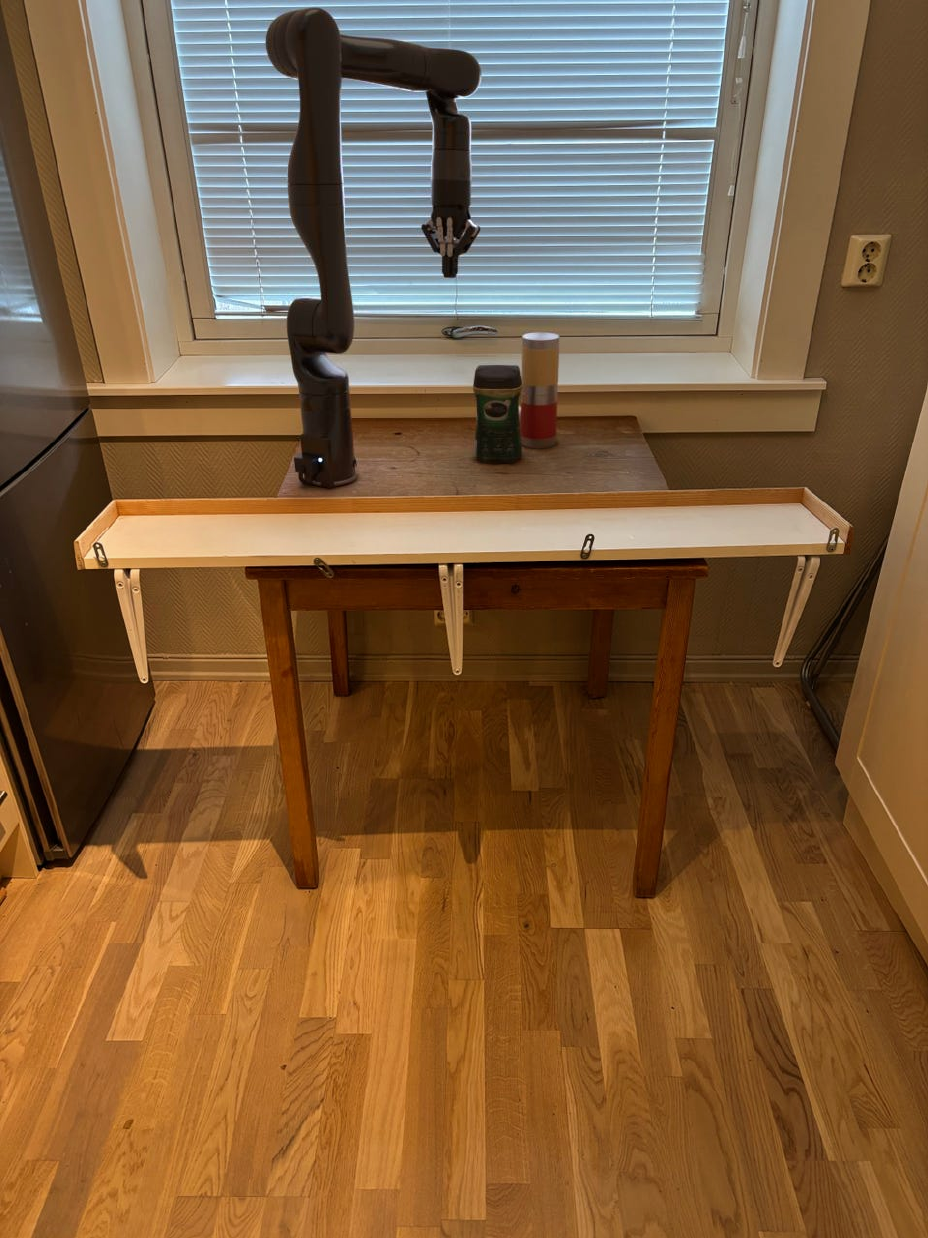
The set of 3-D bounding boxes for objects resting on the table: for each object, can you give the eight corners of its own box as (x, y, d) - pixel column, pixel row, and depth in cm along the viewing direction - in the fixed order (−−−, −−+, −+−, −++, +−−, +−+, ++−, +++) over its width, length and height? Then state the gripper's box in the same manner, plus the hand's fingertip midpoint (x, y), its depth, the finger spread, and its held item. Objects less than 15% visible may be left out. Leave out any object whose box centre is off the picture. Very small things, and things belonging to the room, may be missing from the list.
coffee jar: (522, 452, 187) (524, 360, 178) (520, 465, 180) (521, 370, 171) (475, 451, 188) (475, 360, 179) (471, 463, 181) (470, 369, 172)
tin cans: (546, 450, 188) (549, 341, 177) (514, 445, 191) (515, 337, 181) (561, 440, 194) (565, 334, 183) (529, 435, 197) (532, 330, 186)
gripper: (491, 178, 168) (488, 278, 175) (435, 178, 175) (434, 274, 182) (467, 177, 163) (465, 280, 170) (410, 177, 170) (410, 276, 177)
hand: (449, 277), depth 176 cm, fingers closed
